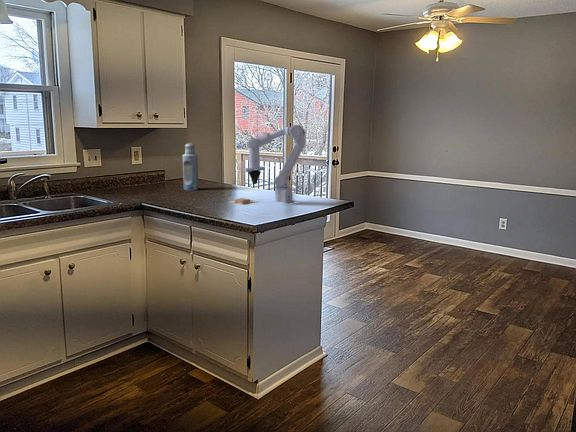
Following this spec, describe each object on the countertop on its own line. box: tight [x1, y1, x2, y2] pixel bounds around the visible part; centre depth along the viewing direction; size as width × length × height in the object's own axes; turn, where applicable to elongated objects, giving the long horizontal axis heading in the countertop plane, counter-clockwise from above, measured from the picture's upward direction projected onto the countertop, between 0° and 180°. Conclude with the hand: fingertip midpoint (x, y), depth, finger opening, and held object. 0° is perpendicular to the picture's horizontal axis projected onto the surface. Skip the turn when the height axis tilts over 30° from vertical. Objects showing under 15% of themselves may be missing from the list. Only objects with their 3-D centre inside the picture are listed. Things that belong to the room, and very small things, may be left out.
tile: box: [234, 197, 251, 205], centre depth 270 cm, size 6×2×6 cm
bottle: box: [182, 143, 199, 191], centre depth 319 cm, size 10×10×30 cm
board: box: [228, 199, 260, 206], centre depth 272 cm, size 14×13×1 cm
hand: (254, 183), depth 277 cm, fingers closed
